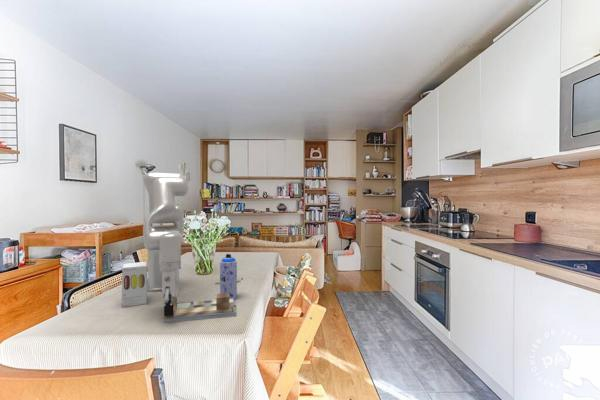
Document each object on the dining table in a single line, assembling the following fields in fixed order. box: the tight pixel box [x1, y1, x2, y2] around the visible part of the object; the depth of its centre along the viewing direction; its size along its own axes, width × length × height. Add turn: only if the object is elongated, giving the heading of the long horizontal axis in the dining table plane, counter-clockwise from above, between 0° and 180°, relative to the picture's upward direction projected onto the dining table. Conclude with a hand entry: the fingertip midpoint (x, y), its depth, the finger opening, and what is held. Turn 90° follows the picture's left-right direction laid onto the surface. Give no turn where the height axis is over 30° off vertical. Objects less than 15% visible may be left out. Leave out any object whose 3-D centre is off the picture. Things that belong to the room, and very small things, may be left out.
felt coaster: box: [176, 302, 191, 309], centre depth 120 cm, size 6×6×1 cm
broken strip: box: [193, 299, 233, 308], centre depth 123 cm, size 16×5×1 cm, turn 103°
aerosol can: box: [219, 253, 238, 300], centre depth 134 cm, size 8×8×20 cm
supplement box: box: [121, 261, 148, 308], centre depth 127 cm, size 10×9×17 cm
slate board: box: [163, 298, 237, 324], centre depth 118 cm, size 26×16×1 cm, turn 103°
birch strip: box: [164, 295, 233, 318], centre depth 114 cm, size 25×5×7 cm, turn 103°
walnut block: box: [215, 293, 229, 310], centre depth 116 cm, size 5×5×5 cm
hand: (170, 311), depth 111 cm, fingers open, 5 cm apart
